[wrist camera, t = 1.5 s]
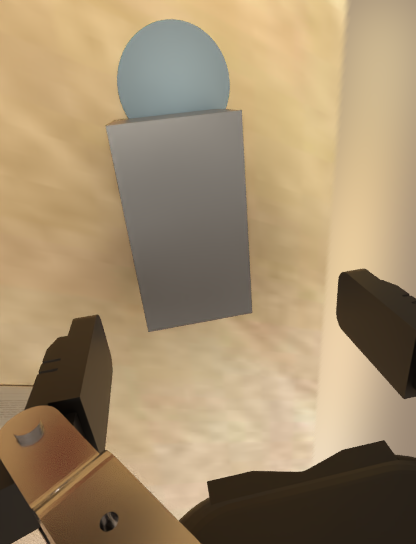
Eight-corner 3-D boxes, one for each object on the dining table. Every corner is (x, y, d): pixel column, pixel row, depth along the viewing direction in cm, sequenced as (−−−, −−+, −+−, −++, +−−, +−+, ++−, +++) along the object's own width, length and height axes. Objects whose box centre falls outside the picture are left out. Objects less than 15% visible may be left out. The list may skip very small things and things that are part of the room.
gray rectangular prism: (228, 269, 29) (252, 312, 23) (146, 283, 28) (148, 331, 22) (215, 108, 23) (241, 110, 18) (113, 120, 23) (105, 126, 17)
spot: (194, 165, 25) (194, 165, 25) (98, 107, 22) (97, 107, 22) (249, 66, 23) (250, 66, 23) (150, -9, 20) (150, -10, 20)
